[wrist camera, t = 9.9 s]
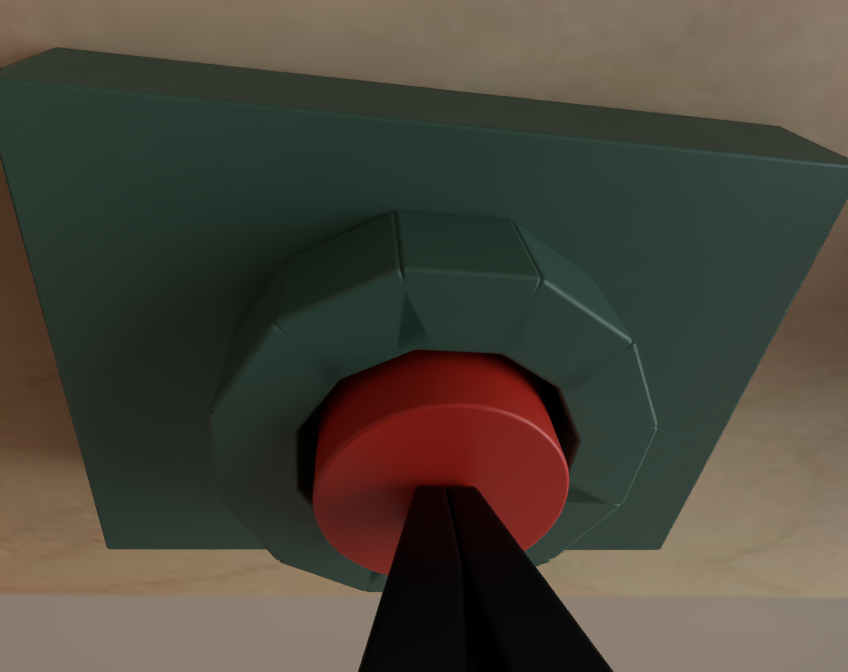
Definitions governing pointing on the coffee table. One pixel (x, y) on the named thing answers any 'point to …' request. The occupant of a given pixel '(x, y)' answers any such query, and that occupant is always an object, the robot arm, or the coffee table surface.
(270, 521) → the block
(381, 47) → the coffee table surface
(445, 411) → the power button
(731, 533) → the coffee table surface
